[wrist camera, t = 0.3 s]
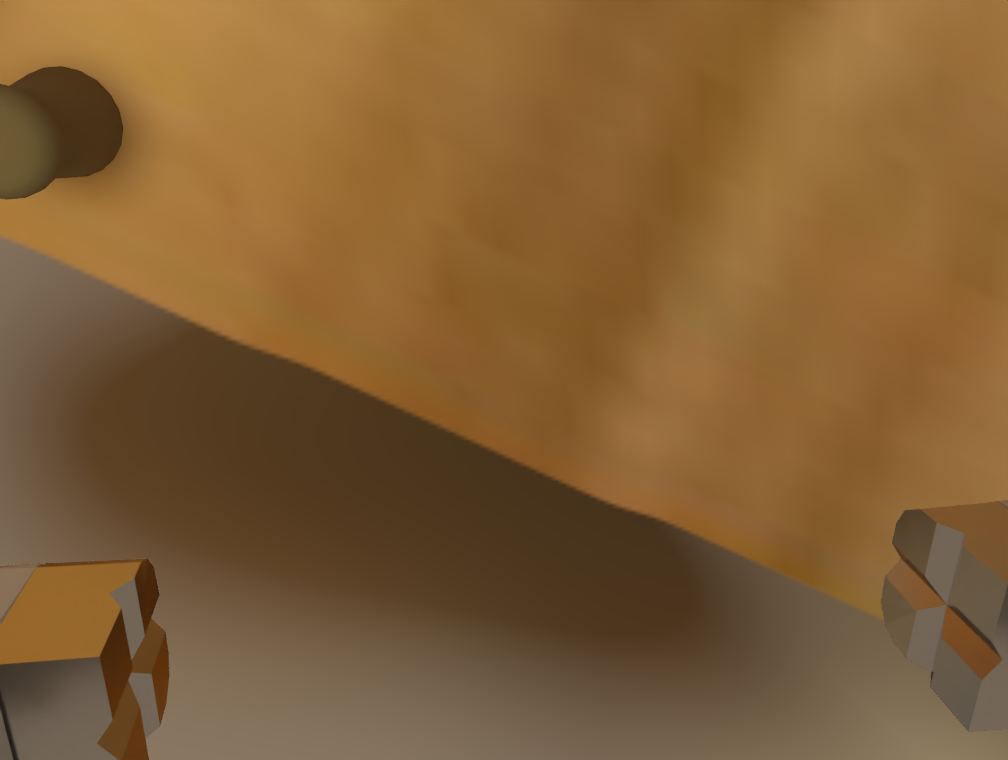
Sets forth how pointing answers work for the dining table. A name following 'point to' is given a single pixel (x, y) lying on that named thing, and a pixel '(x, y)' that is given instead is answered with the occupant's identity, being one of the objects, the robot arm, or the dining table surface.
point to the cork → (54, 130)
